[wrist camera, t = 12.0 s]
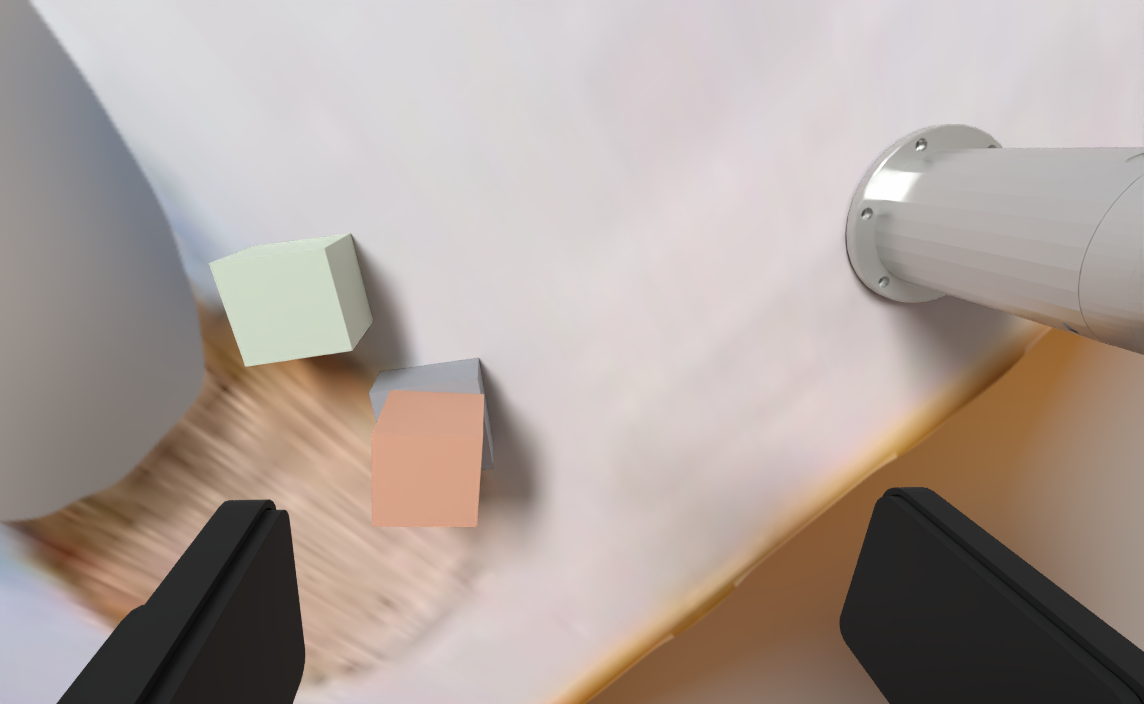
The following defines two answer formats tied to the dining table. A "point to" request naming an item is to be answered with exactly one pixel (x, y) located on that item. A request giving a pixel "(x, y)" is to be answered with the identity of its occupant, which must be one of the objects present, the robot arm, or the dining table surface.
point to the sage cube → (294, 298)
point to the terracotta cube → (427, 459)
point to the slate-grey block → (437, 390)
